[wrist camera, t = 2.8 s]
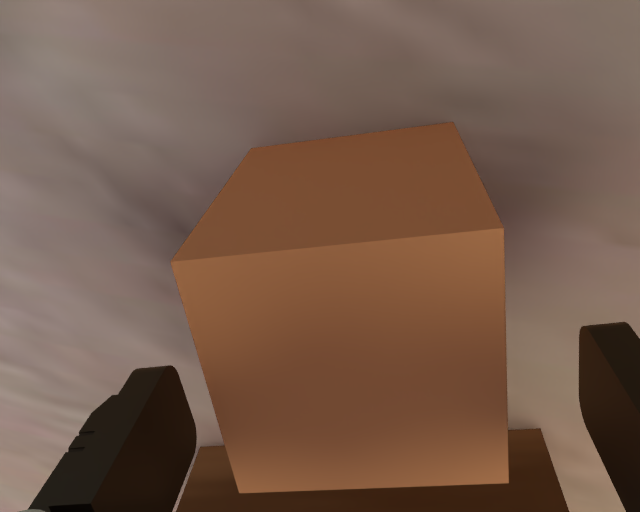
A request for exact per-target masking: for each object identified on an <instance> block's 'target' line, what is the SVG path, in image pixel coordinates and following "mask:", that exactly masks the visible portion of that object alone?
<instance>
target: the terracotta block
mask: <svg viewBox="0 0 640 512" xmlns="http://www.w3.org/2000/svg"><path fill="white" fill-rule="evenodd" d="M171 266H172V269H173V273H174V276H175V279H176V283H177V286H178V289H179V293H180V296H181V299H182V303H183V306H184V309H185V313H186V316H187V320H188V323H189V326H190V330H191V333H192V336H193V340H194V343H195V346H196V350H197V353H198V357H199V360H200V363H201V367H202V370H203V373H204V377H205V380H206V383H207V387H208V390H209V393H210V397H211V400H212V404H213V407H214V410H215V414H216V417H217V420H218V424H219V427H220V430H221V434H222V437H223V441H224V444H225V447H226V451H227V454H228V457H229V461H230V464H231V467H232V471H233V474H234V477H235V481H236V484H237V488H238V491H239V493H262V492H288V491H314V490H341V489H367V488H394V487H420V486H447V485H473V484H500V483H509V469H508V418H507V367H506V316H505V265H504V227H503V225H502V223H501V221H500V219H499V217H498V215H497V213H496V211H495V209H494V206H493V204H492V202H491V200H490V198H489V196H488V194H487V192H486V190H485V188H484V186H483V183H482V181H481V179H480V177H479V175H478V173H477V171H476V169H475V167H474V165H473V163H472V161H471V158H470V156H469V154H468V152H467V150H466V148H465V146H464V144H463V142H462V140H461V138H460V135H459V133H458V131H457V129H456V127H455V125H454V123H453V122H450V123H442V124H434V125H427V126H419V127H411V128H404V129H396V130H388V131H380V132H373V133H365V134H357V135H350V136H342V137H334V138H327V139H319V140H311V141H304V142H296V143H288V144H281V145H273V146H265V147H258V148H251V149H250V151H249V152H248V154H247V155H246V156H245V158H244V159H243V161H242V162H241V163H240V165H239V166H238V168H237V169H236V170H235V172H234V173H233V175H232V176H231V177H230V179H229V180H228V182H227V183H226V184H225V186H224V187H223V189H222V190H221V191H220V193H219V194H218V196H217V197H216V198H215V200H214V201H213V203H212V204H211V205H210V207H209V208H208V210H207V211H206V213H205V214H204V215H203V217H202V218H201V220H200V221H199V222H198V224H197V225H196V227H195V228H194V229H193V231H192V232H191V234H190V235H189V236H188V238H187V239H186V241H185V242H184V243H183V245H182V246H181V248H180V249H179V250H178V252H177V253H176V255H175V256H174V257H173V259H172V260H171Z"/></svg>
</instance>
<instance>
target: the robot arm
mask: <svg viewBox="0 0 640 512" xmlns="http://www.w3.org/2000/svg"><path fill="white" fill-rule="evenodd" d="M579 401H580V407H581V412H582V416H583V419H584V423H585V425H586V428H587V430H588V432H589V434H590V436H591V438H592V440H593V443H594V445H595V447H596V449H597V451H598V453H599V455H600V457H601V459H602V462H603V464H604V466H605V468H606V470H607V472H608V474H609V476H610V479H611V481H612V483H613V485H614V487H615V489H616V491H617V493H618V495H619V498H620V500H621V502H622V504H623V506H624V508H625V510H626V512H640V339H639V337H638V336H637V335H636V333H635V332H634V331H633V329H632V328H631V327H630V325H629V324H628V323H626V322H619V323H609V324H599V325H588V326H582V327H581V329H580V335H579ZM68 449H69V451H68V452H66V453H65V454H64V456H63V457H62V459H61V460H60V462H59V463H58V465H57V466H56V468H55V469H54V471H53V472H52V474H51V475H50V477H49V478H48V480H47V481H46V483H45V484H44V486H43V487H42V489H41V490H40V492H39V493H38V495H37V496H36V498H35V499H34V501H33V502H32V504H31V505H30V507H29V508H28V510H23V511H19V512H172V510H173V508H174V505H175V503H176V500H177V498H178V495H179V492H180V490H181V487H182V485H183V482H184V480H185V477H186V474H187V472H188V469H189V467H190V464H191V461H192V459H193V456H194V453H195V449H196V427H195V423H194V419H193V416H192V413H191V410H190V407H189V404H188V402H187V399H186V396H185V393H184V390H183V387H182V384H181V381H180V378H179V375H178V372H177V370H176V369H175V368H174V367H173V366H160V367H150V368H139V369H135V370H134V371H133V372H132V373H131V375H130V377H129V378H128V380H127V381H126V383H125V385H124V386H123V388H122V389H121V391H120V392H119V394H118V395H112V396H111V397H110V398H108V399H107V400H106V401H105V402H104V403H103V404H102V405H100V406H99V407H98V408H97V409H96V410H95V411H93V412H92V413H91V415H90V416H89V418H88V419H87V421H86V422H85V424H84V425H83V427H82V428H81V430H80V431H79V436H76V437H75V439H74V440H73V442H72V443H71V445H70V447H69V448H68Z"/></svg>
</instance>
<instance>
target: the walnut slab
mask: <svg viewBox="0 0 640 512" xmlns="http://www.w3.org/2000/svg"><path fill="white" fill-rule="evenodd" d="M508 469H509V483H500V484H473V485H447V486H420V487H394V488H367V489H341V490H314V491H288V492H262V493H239V491H238V488H237V484H236V481H235V477H234V474H233V471H232V467H231V464H230V461H229V457H228V454H227V451H226V447H225V446H209V447H200V449H199V452H198V455H197V457H196V460H195V463H194V465H193V468H192V471H191V473H190V476H189V479H188V481H187V484H186V487H185V489H184V492H183V495H182V497H181V500H180V503H179V505H178V508H177V511H176V512H569V510H568V507H567V504H566V501H565V498H564V496H563V493H562V490H561V487H560V484H559V481H558V478H557V475H556V473H555V470H554V467H553V464H552V461H551V458H550V455H549V452H548V450H547V447H546V444H545V441H544V438H543V435H542V432H541V429H523V430H508Z"/></svg>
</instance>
